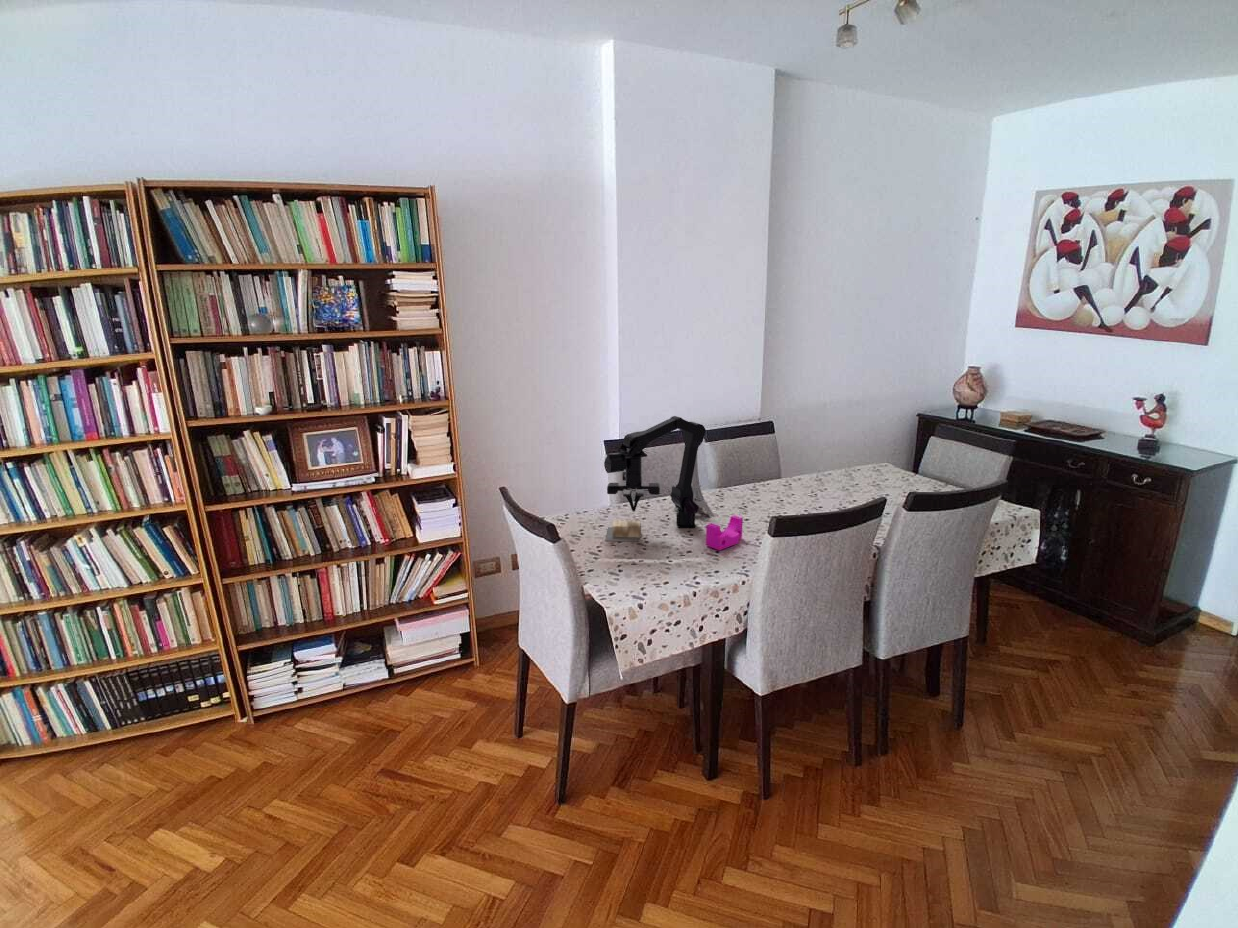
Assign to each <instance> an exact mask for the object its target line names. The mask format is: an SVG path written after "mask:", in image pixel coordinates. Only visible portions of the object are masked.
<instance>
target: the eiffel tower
mask: <svg viewBox="0 0 1238 928" xmlns="http://www.w3.org/2000/svg"><path fill="white" fill-rule="evenodd" d="M698 468H699V467H698V455H697V456H696V462H695V468H694V473H693V479H692V490H693V501H694V502H695V503H696V504H697V505H698V506H699V509H703V510H704V511H705V512H706V514H707V516H708V517H709V518H716V515H715V514H714V512H713V511H712V509H711V508H710V506H709V505H708V501H707V500H706V499H705V497H704V495H703V492H702V490H701V487H702V485H701V484H700V479H699V477H700V476H699V469H698ZM672 510H673V512H678V508H676V507H674V508H673V509H672Z"/></svg>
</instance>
